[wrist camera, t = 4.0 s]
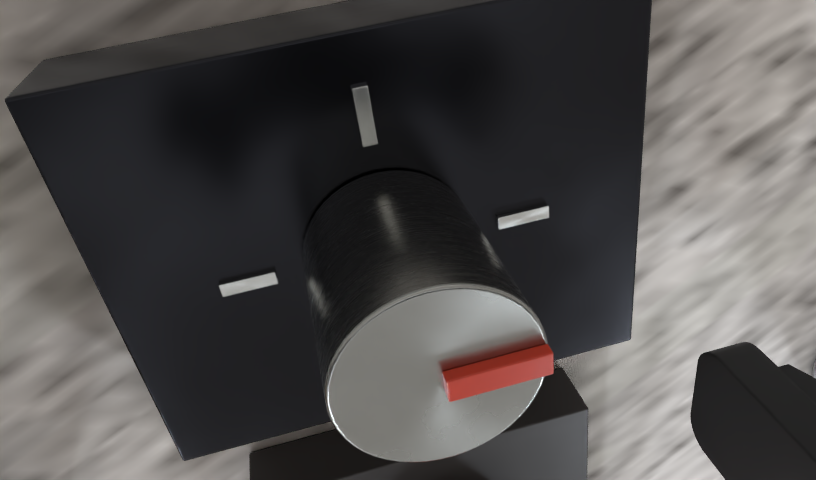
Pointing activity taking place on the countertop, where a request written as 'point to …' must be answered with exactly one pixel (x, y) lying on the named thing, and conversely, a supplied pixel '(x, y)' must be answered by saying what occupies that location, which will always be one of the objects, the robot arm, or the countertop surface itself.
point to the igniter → (462, 474)
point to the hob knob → (417, 321)
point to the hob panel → (337, 177)
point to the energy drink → (814, 370)
